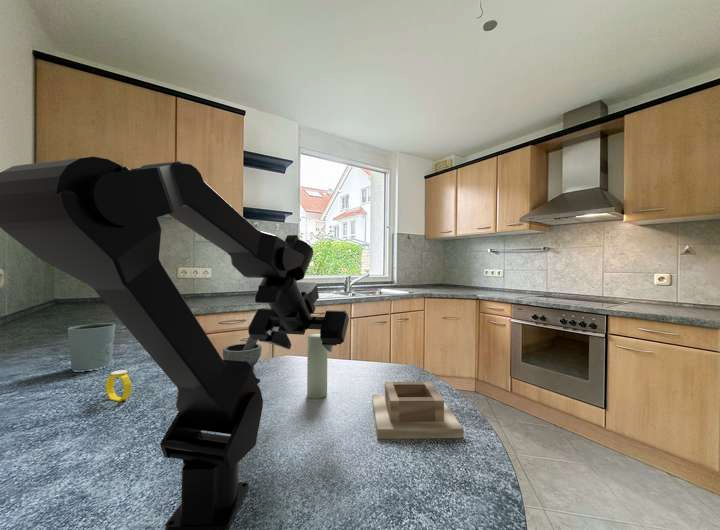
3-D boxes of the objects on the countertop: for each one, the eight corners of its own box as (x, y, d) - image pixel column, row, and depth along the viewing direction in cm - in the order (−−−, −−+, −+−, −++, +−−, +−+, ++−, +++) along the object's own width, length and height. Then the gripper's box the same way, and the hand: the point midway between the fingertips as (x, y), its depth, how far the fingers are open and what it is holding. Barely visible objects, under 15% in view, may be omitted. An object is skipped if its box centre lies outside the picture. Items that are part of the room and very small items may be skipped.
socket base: (463, 438, 48) (463, 406, 48) (377, 438, 48) (377, 407, 48) (438, 401, 62) (438, 377, 62) (372, 402, 62) (372, 377, 62)
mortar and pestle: (239, 381, 74) (240, 332, 74) (214, 375, 78) (215, 329, 79) (271, 368, 84) (272, 326, 84) (248, 364, 88) (249, 323, 89)
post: (326, 398, 63) (326, 337, 64) (305, 398, 63) (306, 337, 64) (328, 390, 68) (328, 333, 68) (308, 391, 68) (309, 333, 68)
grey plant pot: (119, 366, 86) (121, 324, 86) (72, 376, 77) (74, 330, 78) (106, 361, 91) (107, 322, 92) (60, 369, 83) (62, 326, 83)
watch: (134, 400, 63) (136, 372, 63) (119, 405, 61) (122, 376, 61) (115, 394, 65) (117, 367, 65) (100, 399, 63) (103, 371, 63)
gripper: (346, 268, 55) (359, 318, 66) (257, 268, 59) (282, 316, 70) (333, 316, 47) (350, 365, 58) (230, 312, 51) (264, 359, 62)
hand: (310, 348), depth 62 cm, fingers open, 9 cm apart
